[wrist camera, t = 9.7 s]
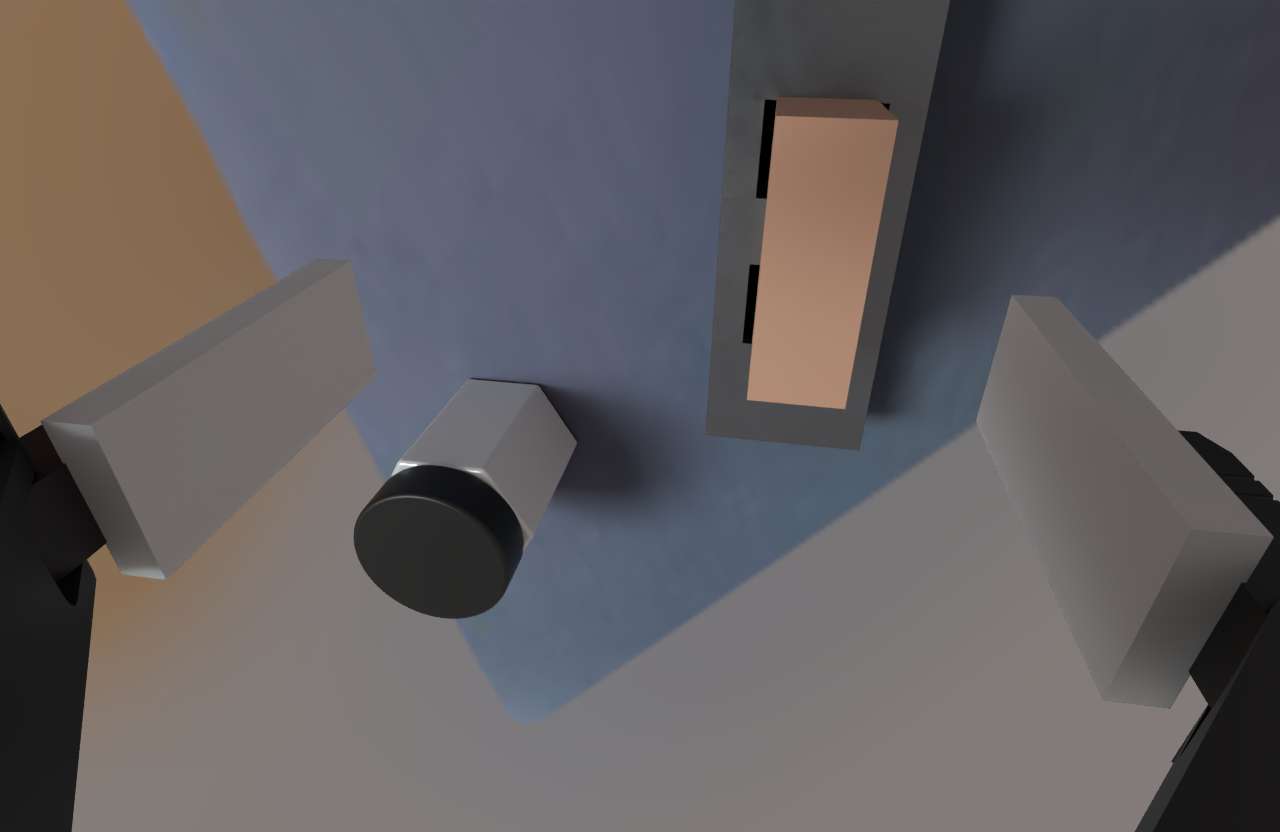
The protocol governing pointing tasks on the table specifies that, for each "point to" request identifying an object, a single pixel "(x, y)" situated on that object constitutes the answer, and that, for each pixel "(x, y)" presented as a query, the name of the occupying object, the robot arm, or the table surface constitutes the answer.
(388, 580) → the jar
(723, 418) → the grey slotted block
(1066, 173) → the table surface
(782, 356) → the orange tan block
